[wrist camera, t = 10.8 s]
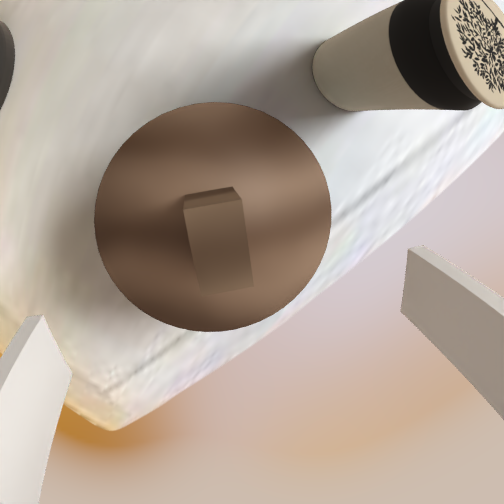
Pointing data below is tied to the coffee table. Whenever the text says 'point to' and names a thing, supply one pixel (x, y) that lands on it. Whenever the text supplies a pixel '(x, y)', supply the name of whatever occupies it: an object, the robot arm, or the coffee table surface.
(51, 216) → the coffee table surface
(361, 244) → the coffee table surface
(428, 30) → the travel mug
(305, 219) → the lid
